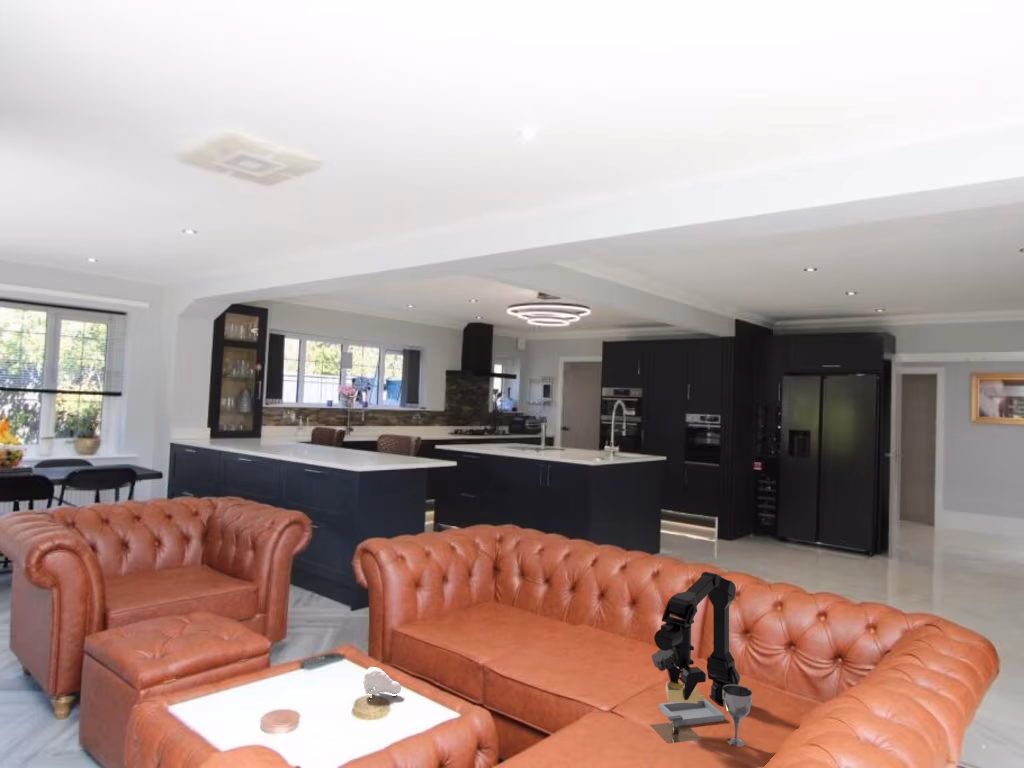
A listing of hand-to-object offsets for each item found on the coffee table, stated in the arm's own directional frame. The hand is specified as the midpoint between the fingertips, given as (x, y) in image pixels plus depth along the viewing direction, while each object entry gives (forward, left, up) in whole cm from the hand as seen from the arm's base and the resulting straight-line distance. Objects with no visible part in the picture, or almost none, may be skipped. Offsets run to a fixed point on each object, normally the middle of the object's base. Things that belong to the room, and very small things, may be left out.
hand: (679, 694), depth 201 cm
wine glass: (-12, +10, -11) cm, 19 cm away
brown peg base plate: (+2, +1, -11) cm, 11 cm away
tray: (-8, -7, -11) cm, 15 cm away
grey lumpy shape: (+82, -41, -11) cm, 92 cm away
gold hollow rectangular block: (0, 0, -1) cm, 1 cm away
